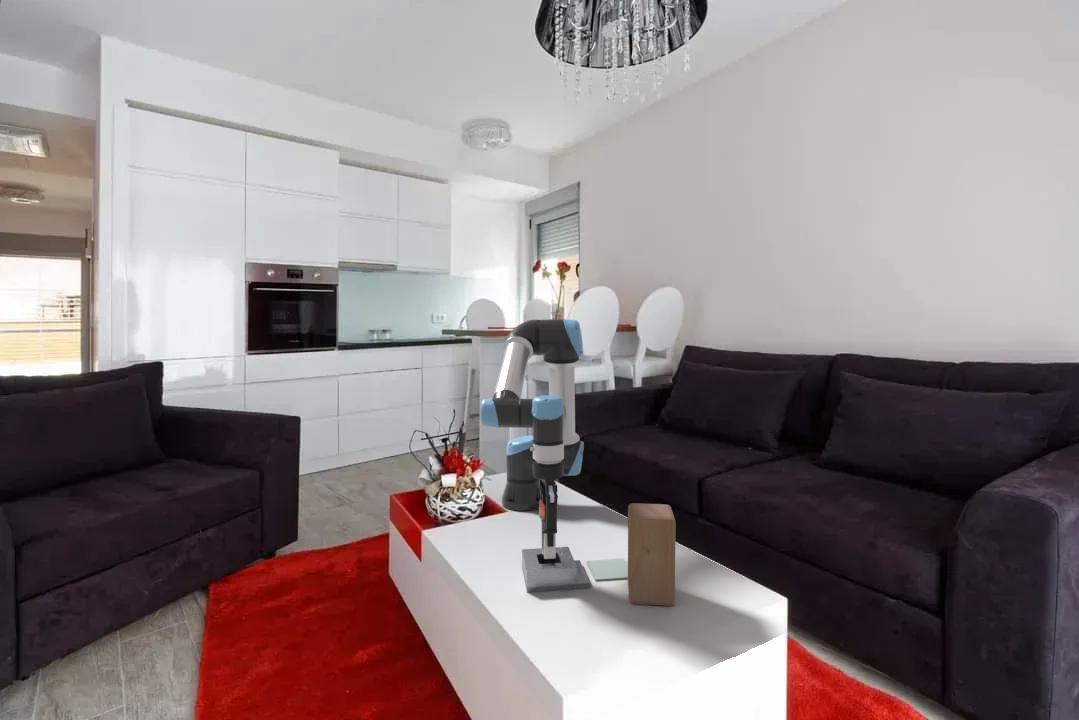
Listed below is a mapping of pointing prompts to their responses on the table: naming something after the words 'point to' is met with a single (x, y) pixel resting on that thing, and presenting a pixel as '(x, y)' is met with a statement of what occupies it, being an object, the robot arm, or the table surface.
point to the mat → (608, 569)
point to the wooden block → (651, 554)
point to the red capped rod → (542, 516)
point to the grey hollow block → (552, 571)
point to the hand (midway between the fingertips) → (548, 554)
